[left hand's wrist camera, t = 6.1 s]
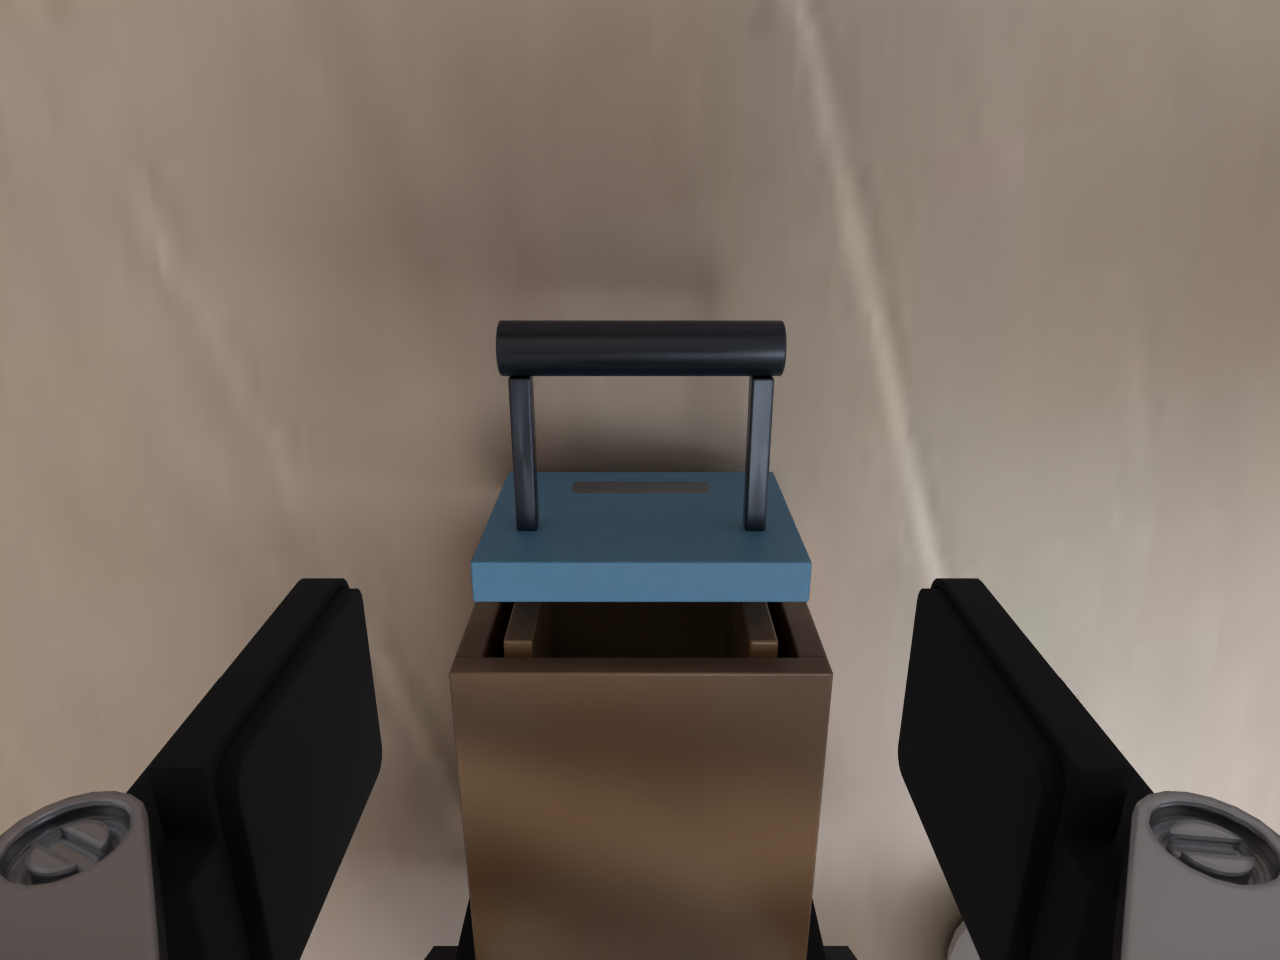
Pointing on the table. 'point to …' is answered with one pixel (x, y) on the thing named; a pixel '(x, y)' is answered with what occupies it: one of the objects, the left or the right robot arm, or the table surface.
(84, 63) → the table surface
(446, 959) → the right robot arm
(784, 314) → the table surface
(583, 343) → the drawer
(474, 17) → the table surface
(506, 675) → the brown storage bin
